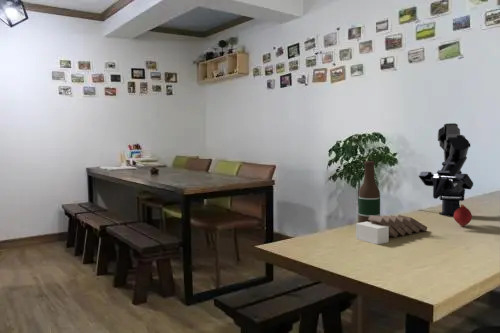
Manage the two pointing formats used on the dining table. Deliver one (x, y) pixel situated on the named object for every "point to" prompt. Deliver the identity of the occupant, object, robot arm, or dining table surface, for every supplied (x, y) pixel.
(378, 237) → the end block
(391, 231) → the domino
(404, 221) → the domino
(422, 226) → the domino
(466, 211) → the onion
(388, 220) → the domino
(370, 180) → the beer bottle
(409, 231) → the domino
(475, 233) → the dining table surface
